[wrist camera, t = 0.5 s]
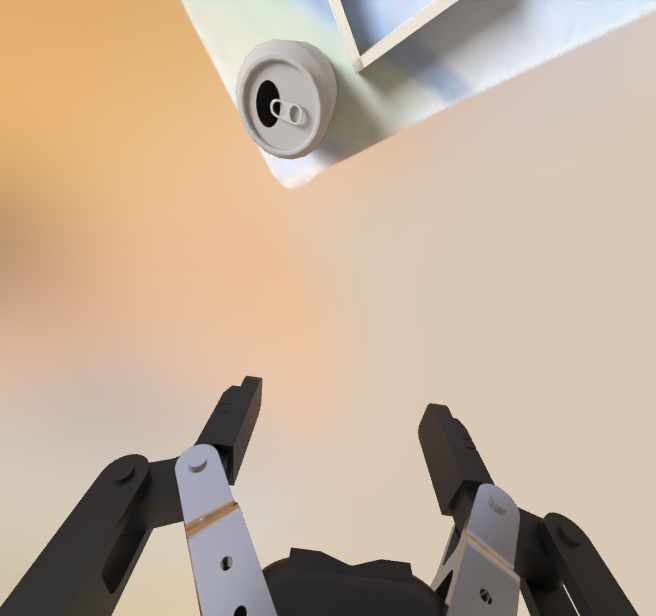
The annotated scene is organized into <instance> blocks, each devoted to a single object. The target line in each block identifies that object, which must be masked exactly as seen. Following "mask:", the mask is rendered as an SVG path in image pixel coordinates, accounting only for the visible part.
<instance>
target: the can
mask: <svg viewBox="0 0 656 616" xmlns="http://www.w3.org/2000/svg"><path fill="white" fill-rule="evenodd" d="M236 98H237V105H238V112H239V114H240V117H241V119H242V122H243V124H244V127H245V129H246V130H247V132H248V133H249V134H250V136H251V138H252V139H253V140H254V142H255V143H256V144H257V145H259V146H260V147H261V148H262V149H263V150H264V151H266V152H267V153H269V154H272V155H274V156H276V157H278V158H284V159H296V158H300V157H304V156H306V155H307V154H309V153H310V152H312V151H313V150H315V149H316V148H317V147H318V145H319V144H320V142H321V141H322V140H323V138H324V137H325V135H326V132H327V129H328V126H329V123H330V120H331V117H332V114H333V111H334V108H335V105H336V99H337V84H336V78H335V73H334V71H333V69H332V66H331V64H330V62H329V60H328V59H327V57H326V56H325V55H324V54H323V53H322V52H321V51H320V49H318V48H317V47H315V46H313V45H311V44H310V43H308V42H299V41H289V40H279V39H272V40H269V41H266V42H264V43H261V44H258V45H257V46H256V47H255V48H254V49H253V50H252V51H251V52H250V53H249V54H248V55H247V56H246V57H245V59H244V61H243V64H242V66H241V68H240V70H239V73H238V78H237V87H236Z"/></svg>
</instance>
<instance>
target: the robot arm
mask: <svg viewBox="0 0 656 616" xmlns="http://www.w3.org/2000/svg"><path fill="white" fill-rule="evenodd" d="M261 396H262V378H258V377H251V376H246V377H245V378H244V380H243V382H242V385H241V387H240V386H231V387H230V388H229V389H227V390H226V391H225V392H224V393H223V394H222V396H221V398H220V400H219V402H218V404H217V405H216V407H215V409H214V412H213V413H212V415H211V417H210V418H209V420H208V422H207V424H206V425H205V427H204V429H203V431H202V433H201V434H200V436H199V438H198V440H197V442H196V443H195V445H194V446H193V447H191V448H189V449H188V450H186V451H185V452H183V454H182V455H181V456H179V457H176V458H173V459H169V460H163V461H157V462H151V463H149V462H148V460H147V459H146V457H144V456H142V455H138V454H132V455H127V456H123V457H121V458H119V459H117V460H115V461H113V462H112V463H110V464H109V465H108V466H107V467H106V468H105V469H104V470H103V471H102V472H101V473H100V475H99V476H98V477H97V479H96V480H95V481H94V483H93V484H92V485H91V487H90V488H89V489H88V491H87V492H86V494H85V495H84V496H83V497H82V499H81V500H80V501H79V503H78V504H77V506H76V507H75V508H74V510H73V511H72V512H71V514H70V515H69V516H68V518H67V519H66V520H65V522H64V523H63V524H62V526H61V527H60V528H59V530H58V531H57V532H56V534H55V535H54V536H53V538H52V539H51V540H50V542H49V543H48V544H47V546H46V547H45V548H44V550H43V551H42V552H41V554H40V555H39V556H38V558H37V559H36V561H35V562H34V563H33V564H32V566H31V567H30V568H29V570H28V571H27V572H26V574H25V575H24V576H23V578H22V579H21V580H20V582H19V583H18V584H17V586H16V587H15V588H14V590H13V591H12V592H11V594H10V595H9V597H8V598H7V599H6V600H5V602H4V603H3V604H2V606H1V607H0V616H111V615H112V613H113V611H114V609H115V607H116V605H117V603H118V601H119V599H120V596H121V594H122V592H123V590H124V588H125V586H126V584H127V582H128V580H129V578H130V576H131V574H132V572H133V570H134V568H135V565H136V563H137V561H138V559H139V557H140V555H141V553H142V551H143V549H144V547H145V545H146V543H147V540H148V539H149V536H150V534H151V532H152V530H153V528H157V527H161V526H165V525H169V524H173V523H178V522H182V521H184V527H185V532H186V538H187V543H188V549H189V554H190V559H191V565H192V570H193V575H194V582H195V587H196V593H197V599H198V604H199V610H200V615H201V616H517V609H518V601H519V591H520V590H521V593H522V595H523V598H524V600H525V603H526V606H527V608H528V611H529V613H530V616H578V614H577V612H576V610H575V608H574V606H573V604H572V602H571V601H570V599H569V597H568V595H567V593H566V591H565V589H564V587H563V584H564V585H565V587H566V589H567V591H568V593H569V595H570V597H571V599H572V601H573V603H574V605H575V607H576V609H577V611H578V613H579V615H580V616H639V615H638V614H637V612H636V611H635V609H634V608H633V606H632V605H631V603H630V601H629V600H628V599H627V597H626V595H625V594H624V592H623V591H622V589H621V588H620V586H619V584H618V583H617V581H616V580H615V578H614V577H613V575H612V574H611V572H610V570H609V569H608V567H607V566H606V565H605V563H604V561H603V560H602V558H601V557H600V555H599V553H598V552H597V550H596V549H595V547H594V546H593V544H592V543H591V541H590V540H589V538H588V537H587V536H586V534H585V533H584V532H583V531H582V530H581V529H580V528H579V527H578V526H577V525H576V524H575V523H574V522H572V521H571V520H570V519H568V518H567V517H565V516H563V515H561V514H558V513H548V514H547V515H546V516H545V517H544V518H543V519H542V518H540V517H538V516H536V515H534V514H531V513H529V512H527V511H525V510H523V509H520V508H519V507H517V505H516V504H515V502H514V501H513V500H512V498H511V497H510V496H509V495H508V494H507V493H506V492H505V491H503V490H502V489H500V488H499V487H497V486H495V484H494V482H493V480H492V479H491V477H490V475H489V473H488V471H487V469H486V467H485V465H484V463H483V461H482V459H481V457H480V455H479V453H478V451H477V450H476V447H475V445H474V443H473V442H472V439H471V437H470V435H469V433H468V431H467V429H466V428H465V427H464V425H463V424H462V423H461V422H460V421H459V420H458V419H456V418H453V417H452V415H451V413H450V410H449V408H448V407H447V406H446V405H439V404H432V403H431V404H429V405H428V406H427V408H426V410H425V413H424V415H423V417H422V420H421V422H420V425H419V429H418V435H419V440H420V444H421V447H422V450H423V454H424V457H425V460H426V464H427V467H428V470H429V474H430V477H431V480H432V484H433V487H434V490H435V493H436V497H437V500H438V503H439V507H440V510H441V513H442V515H446V516H453V519H454V522H455V524H454V526H453V527H452V530H451V533H450V536H449V539H448V542H447V545H446V548H445V551H444V554H443V557H442V560H441V563H440V566H439V569H438V571H437V574H436V576H435V578H434V580H433V582H432V584H431V586H430V587H429V586H428V585H427V584H426V583H424V582H423V581H422V580H420V579H419V578H417V577H416V576H414V575H412V570H411V565H410V563H405V562H398V561H390V560H383V559H381V560H376V561H371V562H367V563H363V564H359V565H353V566H351V565H348V564H346V563H344V562H341V561H339V560H337V559H335V558H333V557H331V556H329V555H327V554H325V553H323V552H321V551H314V550H313V551H312V550H306V549H298V548H291V551H290V556H289V557H288V558H284V559H281V560H278V561H276V562H274V563H272V564H270V565H268V566H267V567H265V568H264V569H263V570H261V567H260V564H259V561H258V558H257V555H256V553H255V549H254V547H253V544H252V541H251V538H250V535H249V532H248V529H247V526H246V523H245V520H244V517H243V515H242V512H241V509H240V507H239V505H238V503H235V501H234V499H233V496H232V493H231V490H230V487H229V485H234V484H235V480H236V477H237V475H238V472H239V469H240V466H241V464H242V461H243V458H244V455H245V452H246V449H247V446H248V443H249V441H250V438H251V435H252V432H253V429H254V426H255V423H256V421H257V418H258V415H259V411H260V406H261Z"/></svg>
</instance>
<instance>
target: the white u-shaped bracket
mask: <svg viewBox="0 0 656 616" xmlns="http://www.w3.org/2000/svg"><path fill="white" fill-rule="evenodd" d="M328 1H329V3H330V6H331V9H332V11H333V14H334V17H335V19H336V22H337V25H338V28H339V30H340V33H341V36H342V38H343V41H344V44H345V46H346V49H347V52H348V54H349V57H350V60H351V62H352V65H353V68H354V70H355V73H358V72H359V71H361V70H362V69H363V68H365V67H366V66H367V65H369V64H370V63H372V62H373V61H374V60H376V59H377V58H379V57H380V56H381V55H383V54H384V53H386V52H387V51H388V50H390V49H391V48H392V47H394V46H395V45H397V44H398V43H399V42H401V41H402V40H404V39H405V38H406V37H408V36H409V35H411V34H412V33H413V32H415V31H416V30H417V29H419V28H420V27H422V26H423V25H424V24H426V23H427V22H429V21H430V20H431V19H433V18H434V17H436V16H437V15H438V14H440V13H441V12H442V11H444V10H445V9H447V8H448V7H449V6H451V5H452V4H454V3H455V2H456V1H458V0H434V1H432V2H431V3H430V4H428V5H427V6H425V7H424V8H423V9H421V10H420V11H419V12H417V13H416V14H415V15H413V16H412V17H411V18H409V19H408V20H407V21H405V22H404V23H403V24H401V25H400V26H399V27H397V28H396V29H395V30H393V31H392V32H391V33H389V34H388V35H387V36H385V37H384V38H383V39H381V40H380V41H379V42H377V43H376V44H375V45H373V46H372V47H370V48H369V49H368V50H366V51H365V52H364V53H362V54H361V55H359V52H358V49H357V46H356V43H355V41H354V38H353V35H352V32H351V29H350V26H349V24H348V21H347V18H346V15H345V12H344V10H343V7H342V4H341V1H340V0H328Z"/></svg>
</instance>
